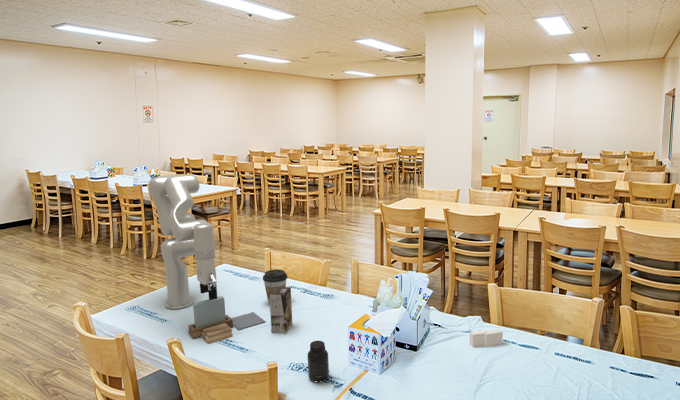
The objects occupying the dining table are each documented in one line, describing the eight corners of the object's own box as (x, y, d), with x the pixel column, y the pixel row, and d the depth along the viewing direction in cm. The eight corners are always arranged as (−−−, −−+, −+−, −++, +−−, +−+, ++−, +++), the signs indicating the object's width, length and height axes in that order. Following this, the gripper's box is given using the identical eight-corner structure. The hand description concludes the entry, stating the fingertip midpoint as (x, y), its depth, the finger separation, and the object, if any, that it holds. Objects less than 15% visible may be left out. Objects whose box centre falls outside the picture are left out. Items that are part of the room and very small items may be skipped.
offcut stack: (201, 338, 185) (201, 329, 184) (225, 330, 191) (225, 322, 190) (208, 344, 180) (207, 336, 179) (232, 337, 185) (232, 328, 185)
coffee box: (286, 333, 186) (284, 295, 183) (270, 332, 188) (268, 294, 185) (293, 323, 195) (291, 286, 192) (278, 322, 196) (276, 286, 193)
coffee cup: (259, 306, 213) (257, 275, 211) (272, 297, 224) (270, 267, 221) (281, 310, 209) (279, 278, 206) (293, 300, 219) (291, 269, 217)
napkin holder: (506, 341, 176) (507, 327, 175) (504, 355, 166) (504, 340, 165) (465, 334, 182) (466, 321, 181) (461, 348, 172) (461, 333, 171)
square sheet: (195, 333, 188) (192, 303, 186) (224, 325, 195) (221, 296, 193) (197, 336, 186) (195, 305, 184) (226, 327, 193) (224, 297, 191)
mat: (227, 320, 200) (227, 319, 200) (253, 313, 207) (253, 312, 206) (238, 330, 190) (238, 329, 190) (265, 322, 197) (265, 321, 197)
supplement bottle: (308, 372, 158) (306, 339, 156) (328, 371, 158) (327, 338, 156) (308, 384, 151) (307, 349, 149) (329, 382, 152) (328, 348, 149)
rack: (188, 333, 188) (187, 325, 188) (227, 322, 198) (226, 314, 197) (193, 339, 184) (192, 330, 183) (233, 327, 193) (232, 319, 192)
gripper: (188, 251, 190) (192, 292, 192) (203, 261, 176) (207, 304, 178) (206, 248, 194) (210, 288, 197) (222, 257, 180) (226, 299, 183)
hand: (208, 295), depth 188 cm, fingers open, 9 cm apart
